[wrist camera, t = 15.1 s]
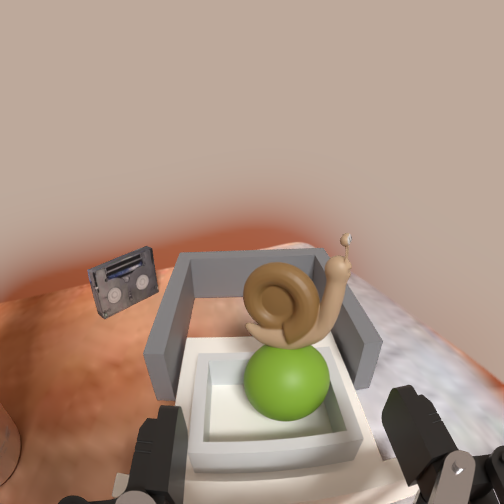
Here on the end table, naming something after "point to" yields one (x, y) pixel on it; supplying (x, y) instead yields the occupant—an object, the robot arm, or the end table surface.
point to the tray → (275, 438)
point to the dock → (232, 285)
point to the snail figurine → (291, 336)
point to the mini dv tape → (123, 281)
